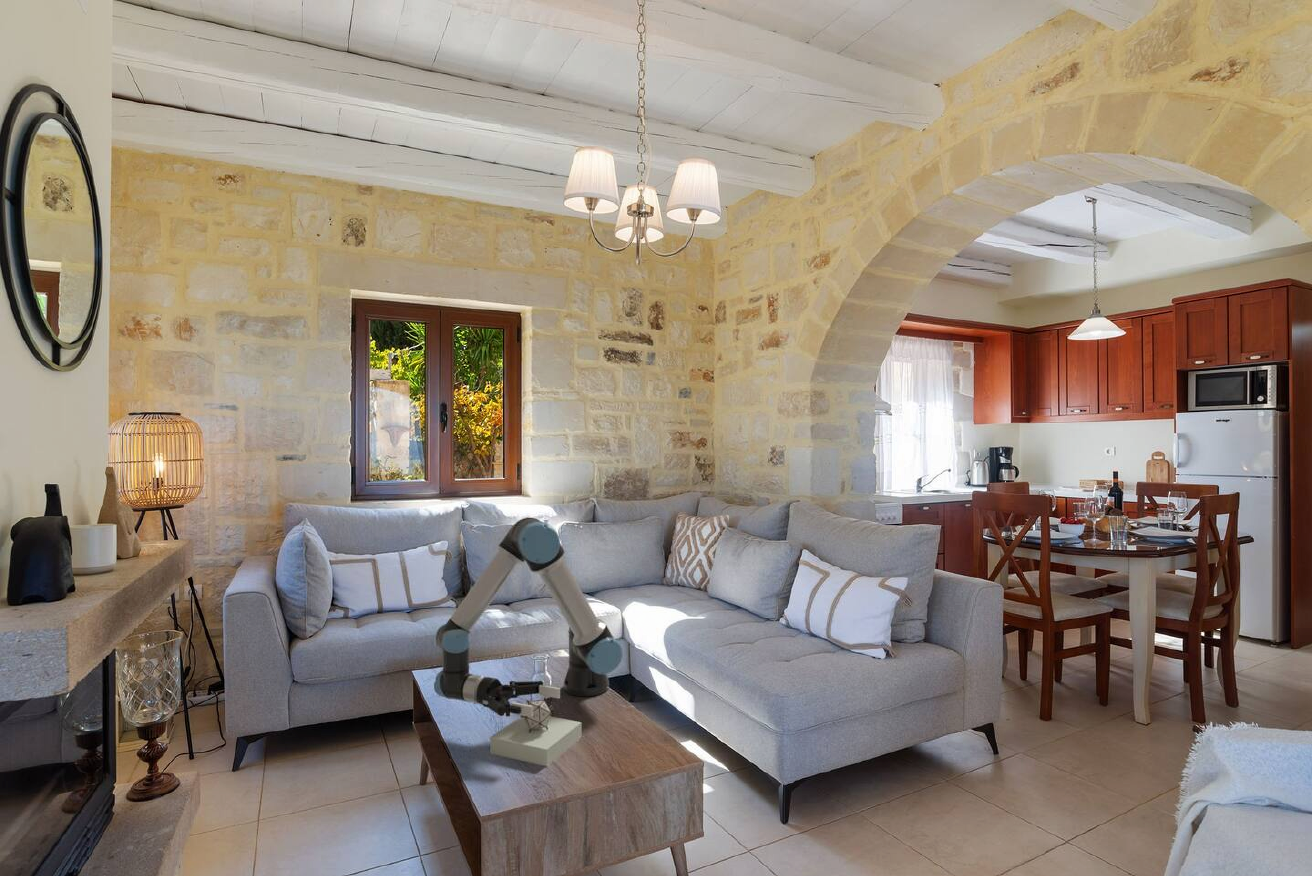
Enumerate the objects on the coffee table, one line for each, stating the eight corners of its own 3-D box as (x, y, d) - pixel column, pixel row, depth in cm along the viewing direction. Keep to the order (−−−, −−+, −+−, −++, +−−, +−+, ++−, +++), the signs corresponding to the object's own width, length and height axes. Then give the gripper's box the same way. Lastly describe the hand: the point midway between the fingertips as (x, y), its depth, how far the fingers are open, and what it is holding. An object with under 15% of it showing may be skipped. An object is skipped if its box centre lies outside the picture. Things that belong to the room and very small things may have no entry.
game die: (542, 744, 193) (546, 725, 187) (514, 731, 194) (517, 712, 188) (556, 717, 200) (560, 698, 194) (529, 705, 201) (532, 685, 195)
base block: (528, 729, 206) (528, 712, 205) (581, 740, 198) (581, 722, 198) (490, 755, 189) (490, 737, 189) (547, 768, 182) (546, 749, 182)
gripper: (509, 688, 212) (569, 699, 204) (454, 720, 189) (520, 734, 181) (508, 663, 212) (569, 673, 204) (454, 693, 189) (520, 705, 181)
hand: (546, 702), depth 192 cm, fingers open, 13 cm apart
